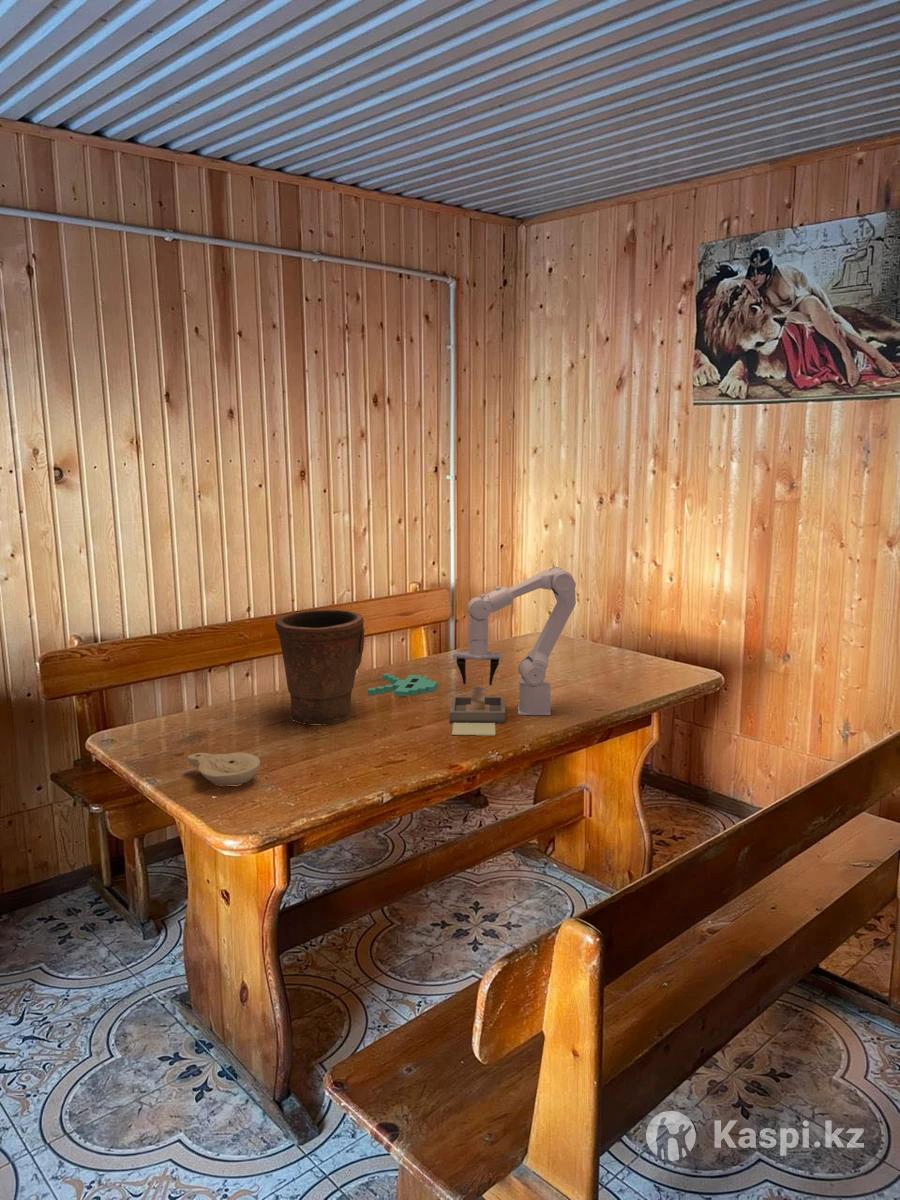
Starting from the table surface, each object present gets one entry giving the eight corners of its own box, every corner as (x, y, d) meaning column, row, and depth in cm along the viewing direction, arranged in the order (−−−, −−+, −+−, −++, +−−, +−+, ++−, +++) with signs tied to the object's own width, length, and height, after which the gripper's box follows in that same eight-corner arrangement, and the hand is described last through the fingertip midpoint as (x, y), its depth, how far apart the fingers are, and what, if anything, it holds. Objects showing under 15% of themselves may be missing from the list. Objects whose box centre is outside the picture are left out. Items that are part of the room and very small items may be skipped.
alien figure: (367, 696, 285) (428, 699, 281) (367, 689, 285) (428, 692, 281) (384, 679, 304) (441, 682, 300) (384, 673, 304) (441, 676, 300)
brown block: (484, 706, 266) (484, 686, 264) (484, 710, 262) (484, 690, 260) (471, 706, 266) (471, 686, 265) (470, 710, 262) (470, 690, 261)
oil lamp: (167, 781, 215) (166, 761, 214) (211, 762, 227) (210, 743, 226) (230, 798, 205) (228, 778, 204) (273, 778, 217) (272, 758, 216)
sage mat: (495, 724, 255) (494, 723, 255) (495, 735, 245) (495, 734, 245) (453, 724, 255) (453, 722, 255) (451, 735, 246) (451, 734, 246)
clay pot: (392, 711, 268) (389, 613, 263) (316, 735, 247) (312, 630, 241) (336, 695, 285) (333, 603, 279) (261, 716, 264) (256, 618, 258)
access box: (504, 706, 272) (504, 696, 271) (505, 723, 256) (505, 712, 255) (451, 706, 272) (451, 696, 272) (449, 723, 256) (449, 712, 256)
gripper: (452, 641, 256) (452, 686, 259) (503, 642, 256) (502, 688, 258) (454, 636, 263) (453, 680, 266) (503, 637, 262) (502, 681, 265)
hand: (477, 683), depth 262 cm, fingers open, 7 cm apart
